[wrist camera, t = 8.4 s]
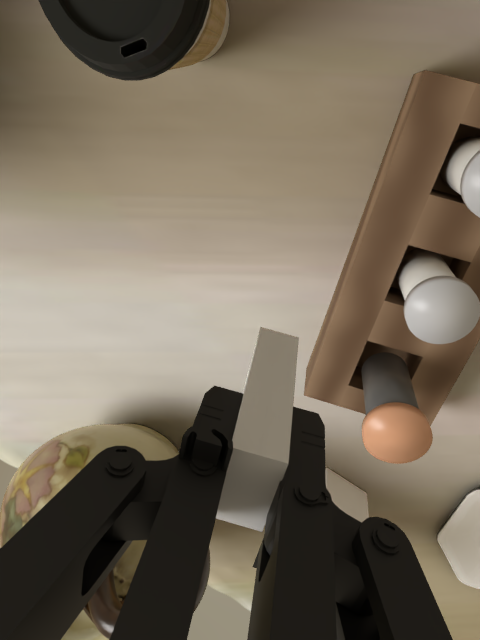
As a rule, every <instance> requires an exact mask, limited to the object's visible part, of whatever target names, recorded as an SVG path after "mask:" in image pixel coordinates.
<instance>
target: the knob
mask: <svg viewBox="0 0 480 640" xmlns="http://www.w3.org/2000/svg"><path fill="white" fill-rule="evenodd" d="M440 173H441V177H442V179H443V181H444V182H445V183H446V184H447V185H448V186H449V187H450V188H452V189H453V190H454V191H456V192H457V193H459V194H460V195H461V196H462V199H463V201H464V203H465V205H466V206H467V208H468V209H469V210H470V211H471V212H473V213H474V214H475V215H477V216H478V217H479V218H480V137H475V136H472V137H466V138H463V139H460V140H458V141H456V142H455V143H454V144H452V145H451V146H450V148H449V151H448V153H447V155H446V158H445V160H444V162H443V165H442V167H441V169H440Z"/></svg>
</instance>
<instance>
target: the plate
mask: <svg viewBox="0 0 480 640" xmlns="http://www.w3.org/2000/svg"><path fill="white" fill-rule="evenodd" d="M437 541H438V543H439V545H440V546H441V548H442V550H443V552H444V554H445V556H446V558H447V559H448V561H449V563H450V565H451V567H452V569H453V571H454V572H455V574H456V576H457V578H458V580H460V581H461V582H462V583H464V584H465V585H468V586H471V587H474V588H477V589H480V488H477V489H474V490H472V491H470V492H469V493H467V494H466V496H465V497H464V498H463V500H462V501H461V503H460V504H459V505H458V507H457V508H456V509H455V511H454V512H453V513H452V515H451V516H450V518H449V519H448V520H447V522H446V523H445V524H444V526H443V527H442V528H441V530H440V531H439V533H438V535H437Z"/></svg>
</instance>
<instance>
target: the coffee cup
mask: <svg viewBox="0 0 480 640" xmlns="http://www.w3.org/2000/svg"><path fill="white" fill-rule="evenodd" d="M39 2H40V4H41V7H42V9H43V11H44V13H45V15H46V17H47V18H48V20H49V21H50V23H51V25H52V27H53V28H54V30H55V31H56V33H57V34H58V36H59V37H60V39H61V40H62V42H63V43H64V44H65V45H66V46H67V47H68V48H69V50H70V51H71V52H72V53H73V54H74V55H75V56H76V57H77V58H79V59H80V60H81V61H83V62H84V63H85V64H87V65H88V66H89V67H91V68H92V69H94V70H96V71H98V72H100V73H102V74H104V75H106V76H108V77H112V78H117V79H121V80H143V79H148V78H152V77H155V76H157V75H159V74H161V73H163V72H165V71H167V70H171V69H175V68H180V67H185V66H189V65H193V64H195V63H197V62H200V61H204V60H206V59H208V58H210V57H211V56H212V55H214V54H215V53H216V52H217V51H218V49H219V48H220V47H221V46H222V44H223V42H224V40H225V38H226V35H227V32H228V28H229V7H228V2H227V0H39Z"/></svg>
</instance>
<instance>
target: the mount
mask: <svg viewBox="0 0 480 640" xmlns="http://www.w3.org/2000/svg"><path fill="white" fill-rule="evenodd" d="M472 136H475V137H480V84H478V83H474V82H470V81H466V80H462V79H458V78H454V77H450V76H446V75H442V74H438V73H435V72H431V71H427V70H425V71H422V72H419V73H416V74H414V75H413V78H412V81H411V83H410V86H409V89H408V92H407V94H406V97H405V100H404V102H403V105H402V108H401V111H400V113H399V116H398V119H397V122H396V124H395V127H394V130H393V133H392V135H391V138H390V141H389V144H388V146H387V149H386V152H385V155H384V157H383V160H382V163H381V166H380V168H379V171H378V174H377V177H376V179H375V182H374V185H373V188H372V190H371V193H370V196H369V199H368V201H367V204H366V207H365V209H364V212H363V215H362V218H361V220H360V223H359V226H358V229H357V231H356V234H355V237H354V240H353V242H352V245H351V248H350V251H349V253H348V256H347V259H346V262H345V264H344V267H343V270H342V273H341V275H340V278H339V281H338V284H337V286H336V289H335V292H334V295H333V297H332V300H331V303H330V306H329V308H328V311H327V314H326V316H325V319H324V322H323V325H322V327H321V330H320V333H319V336H318V338H317V341H316V344H315V347H314V349H313V352H312V355H311V358H310V360H309V363H308V366H307V370H306V380H305V390H304V395H305V396H308V397H311V398H314V399H318V400H321V401H324V402H328V403H331V404H334V405H337V406H341V407H344V408H347V409H350V410H354V411H357V412H360V413H364V414H366V411H365V402H364V392H363V382H362V373H361V371H362V366H363V364H364V362H365V361H366V360H367V359H368V358H369V357H371V356H372V355H374V354H377V353H383V352H387V353H393V354H396V355H398V356H399V357H401V358H402V359H403V360H404V361H405V363H406V365H407V368H408V371H409V375H410V378H411V382H412V385H413V389H414V393H415V396H416V400H417V403H418V407H419V410H420V411H422V412H423V413H424V415H425V416H426V417H427V419H428V421H429V424H430V426H431V424H432V422H433V421H434V419H435V417H436V415H437V413H438V412H439V410H440V408H441V406H442V405H443V403H444V401H445V399H446V398H447V396H448V394H449V392H450V390H451V389H452V387H453V385H454V383H455V382H456V380H457V378H458V376H459V375H460V373H461V371H462V369H463V368H464V366H465V364H466V362H467V360H468V359H469V357H470V355H471V353H472V352H473V350H474V348H475V346H476V345H477V343H478V341H479V339H480V317H479V320H478V322H477V324H476V326H475V327H474V328H473V330H472V331H471V332H470V333H469V334H467V335H466V336H465V337H463V338H461V339H459V340H457V341H455V342H452V343H447V344H432V343H427V342H425V341H422V340H420V339H419V338H417V337H416V336H415V335H414V334H413V333H412V332H411V331H410V329H409V328H408V325H407V323H406V320H405V317H404V303H405V300H404V297H403V294H402V291H401V289H400V286H399V283H398V280H397V278H396V272H397V270H398V268H399V265H400V263H401V261H402V258H403V256H404V254H406V253H407V252H409V251H411V250H413V249H416V248H421V249H425V250H428V251H432V252H436V253H438V254H440V256H441V257H442V258H443V260H444V261H445V263H446V264H447V265H448V267H449V268H450V270H451V271H452V273H453V274H454V275H455V277H456V278H459V279H461V280H463V281H464V282H466V283H467V284H468V285H469V286H470V287H471V289H472V290H473V291H474V293H475V294H476V295H477V297H478V299H479V302H480V218H479V217H478V216H477V215H475V214H474V213H473V212H471V211H470V210H469V209H468V208H467V206H466V205H465V203H464V201H463V199H462V196H461V195H460V194H459V193H457V192H456V191H454V190H453V189H452V188H450V187H449V186H448V185H447V184H446V183H445V182H444V181H443V179H442V177H441V173H440V169H441V167H442V165H443V162H444V160H445V158H446V155H447V153H448V151H449V148H450V146H451V145H452V144H454V143H455V142H456V141H458V140H460V139H463V138H466V137H472Z"/></svg>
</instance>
